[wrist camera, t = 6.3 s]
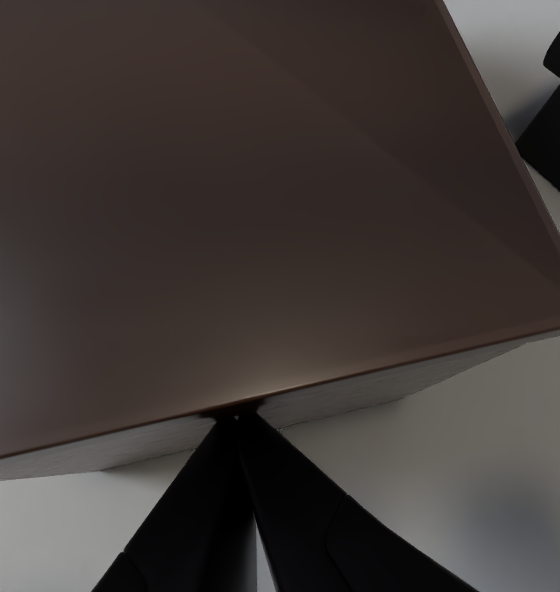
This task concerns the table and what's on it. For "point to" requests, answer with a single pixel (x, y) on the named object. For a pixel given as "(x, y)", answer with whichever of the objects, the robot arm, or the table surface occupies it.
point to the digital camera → (545, 127)
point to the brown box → (247, 220)
